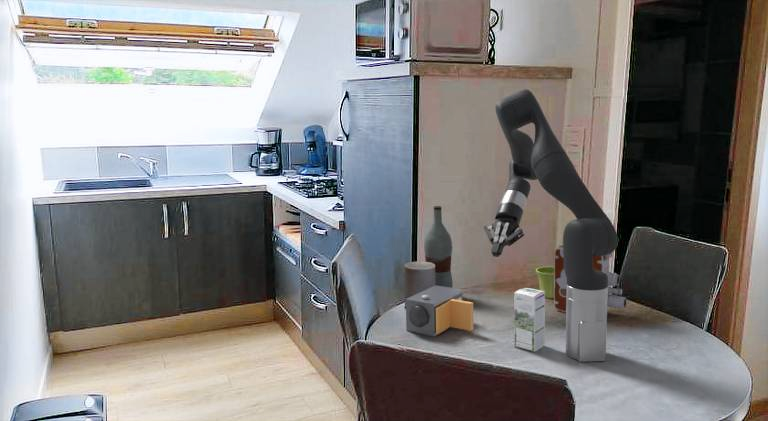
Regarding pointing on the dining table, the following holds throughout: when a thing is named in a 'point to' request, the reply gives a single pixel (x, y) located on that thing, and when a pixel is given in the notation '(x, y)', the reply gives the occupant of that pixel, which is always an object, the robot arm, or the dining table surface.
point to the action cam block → (428, 308)
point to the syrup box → (529, 319)
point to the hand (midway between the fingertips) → (495, 255)
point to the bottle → (439, 250)
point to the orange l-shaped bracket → (454, 315)
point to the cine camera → (598, 264)
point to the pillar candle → (418, 277)
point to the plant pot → (546, 280)
